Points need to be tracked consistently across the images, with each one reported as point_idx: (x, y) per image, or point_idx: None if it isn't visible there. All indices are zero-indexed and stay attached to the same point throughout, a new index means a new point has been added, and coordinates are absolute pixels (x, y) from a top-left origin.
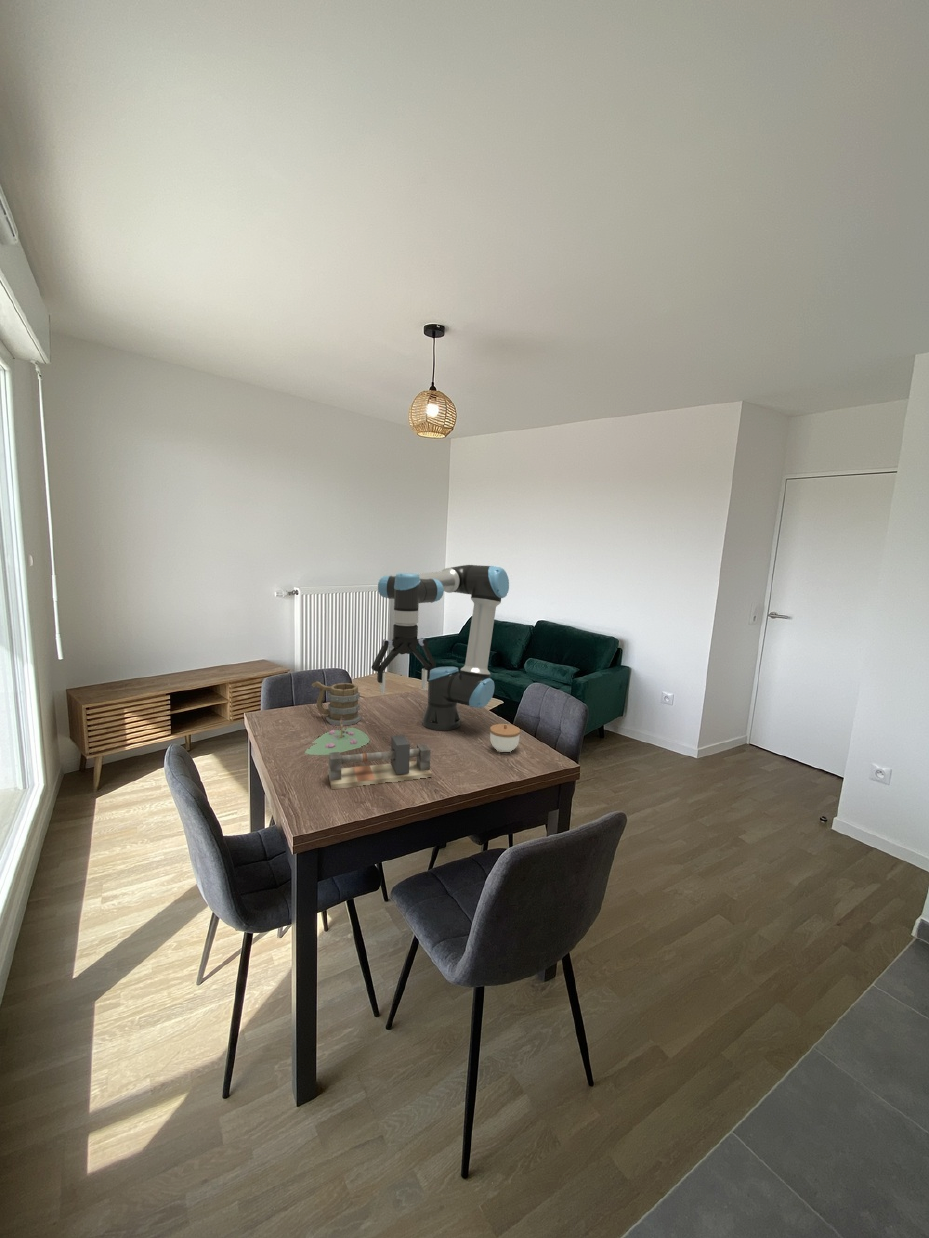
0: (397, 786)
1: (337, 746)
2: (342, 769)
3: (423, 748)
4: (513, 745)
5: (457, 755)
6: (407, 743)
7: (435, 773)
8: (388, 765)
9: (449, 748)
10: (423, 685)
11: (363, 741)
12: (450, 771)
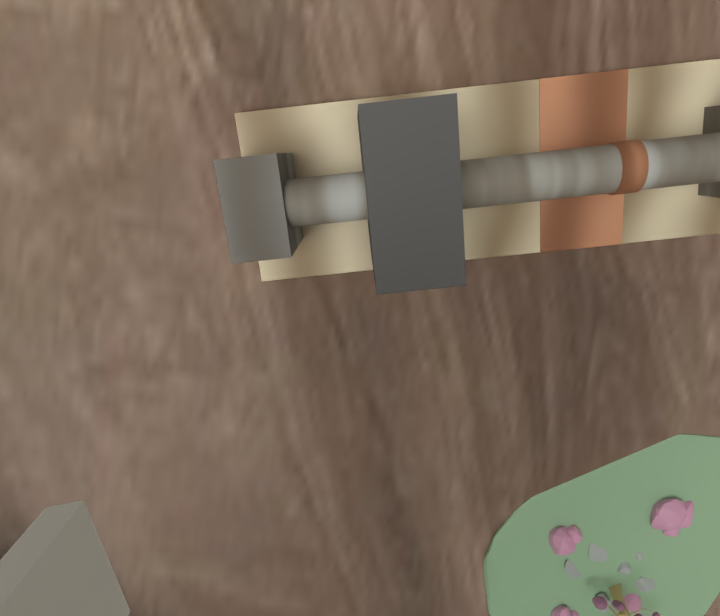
0: (424, 41)
1: (639, 507)
2: (676, 226)
3: (257, 190)
4: None
5: (84, 355)
6: (374, 119)
7: None
8: None
9: (117, 437)
10: (62, 600)
11: (516, 545)
12: (137, 176)
